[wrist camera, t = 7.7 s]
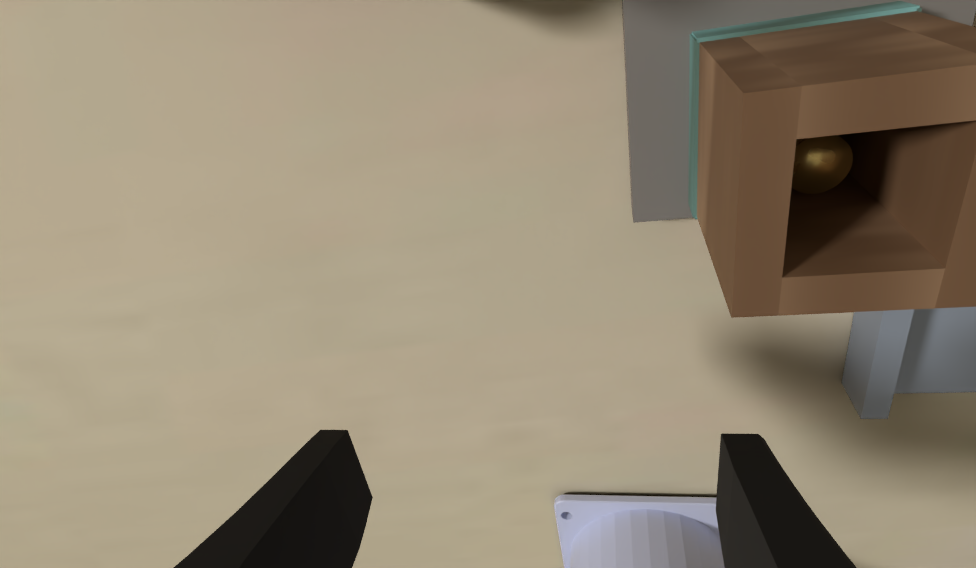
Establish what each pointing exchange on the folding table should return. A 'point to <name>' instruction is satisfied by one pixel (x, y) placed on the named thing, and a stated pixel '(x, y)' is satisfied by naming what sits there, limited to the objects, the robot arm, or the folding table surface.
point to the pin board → (665, 82)
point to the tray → (908, 356)
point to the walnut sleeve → (875, 168)
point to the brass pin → (820, 163)
